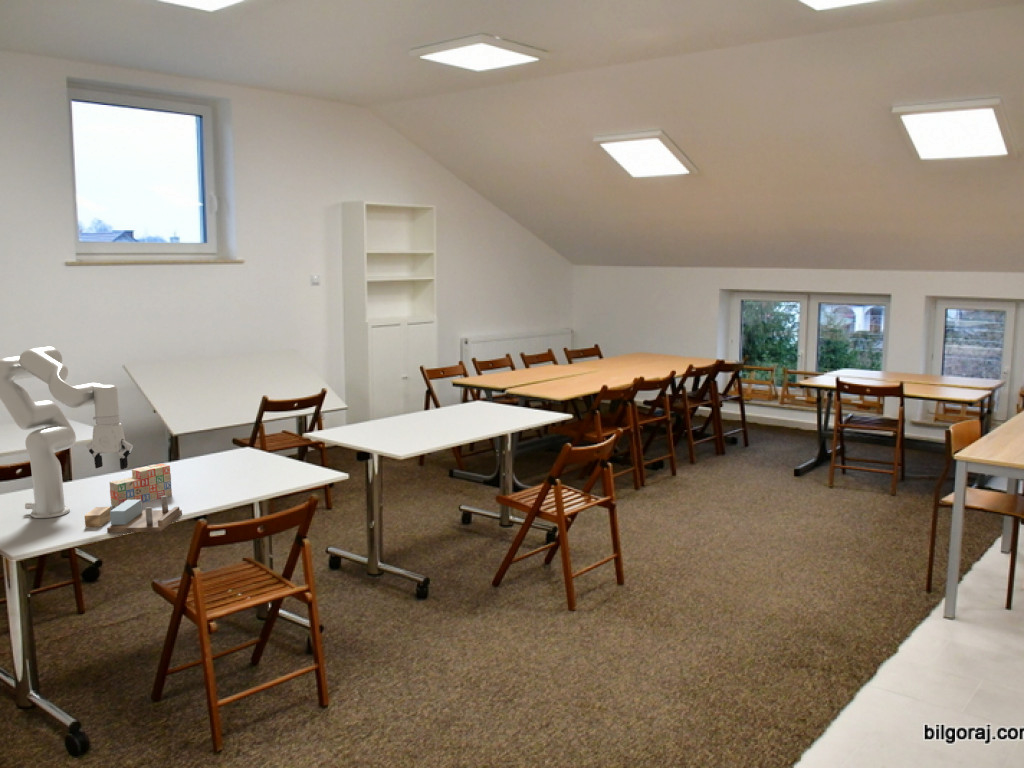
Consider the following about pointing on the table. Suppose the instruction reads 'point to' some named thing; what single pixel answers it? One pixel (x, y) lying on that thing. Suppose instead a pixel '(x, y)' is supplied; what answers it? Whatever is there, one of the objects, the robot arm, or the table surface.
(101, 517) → the wooden block
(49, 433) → the robot arm
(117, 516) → the light blue long block
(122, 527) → the base
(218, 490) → the table surface
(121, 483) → the stack of blocks
